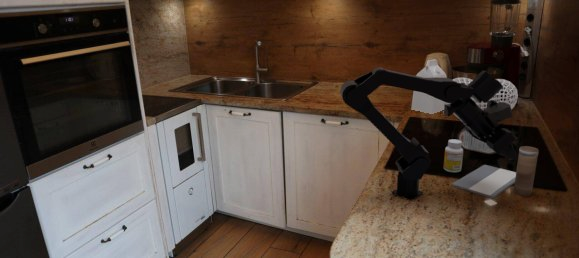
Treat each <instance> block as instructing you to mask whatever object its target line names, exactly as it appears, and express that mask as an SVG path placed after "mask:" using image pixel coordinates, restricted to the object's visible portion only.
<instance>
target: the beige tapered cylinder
mask: <svg viewBox="0 0 579 258" xmlns="http://www.w3.org/2000/svg"><path fill="white" fill-rule="evenodd" d="M538 156H539V149H538V148H536V147H533V146H528V145H525V146H524V145H522V146H520V147H519V150H518V158H517V164H516V165H517V166H516V169H515V170H516V171H515V172H516V177H515V183H514V184H513V193H515V194H517V195H519V196H525V197H526V196H531V195H532V194H533V193H532V192H533V187H534V180H535V175H536V169H537V163H538V162H537V161H538Z"/></svg>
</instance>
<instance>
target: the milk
mask: <svg viewBox="0 0 579 258" xmlns="http://www.w3.org/2000/svg"><path fill="white" fill-rule="evenodd" d="M438 64H439V63H438V59H429V60H427V61H426V65H425V66H424V68H422V69H421V70H420V71H419V72H417V74H416V75H415V76H419V77H423V78H434V77H438V78H448V76H447V73H446V72H445V71H444V70H443V69H442V68H441V67H440V65H438ZM411 101H412V102H411V108H410V111H411V110H415V111H420V112H424V113H429V114H434V113H437V112H440V111H442V110H444V105H445V102H444V101H442V100H439V99H437V98H434V97H432V96H430V95H428V94H425V93H422V92H417V91H413V92H412V100H411Z"/></svg>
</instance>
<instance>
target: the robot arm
mask: <svg viewBox="0 0 579 258" xmlns="http://www.w3.org/2000/svg"><path fill="white" fill-rule="evenodd" d="M496 79H497V78H494V77H493V76H492V75H491V74H489V73H488V72H487V71H486V70H481V72H479V74H477V76H476V77H475V78H474V79H472V80H473V81H472V82H470V84H468V85H466V84H465V83H457V81H456V82H455V81H453V79H451V78H448V77H447V78H438V77H434V78H423V77H419V76H416V75H413V74H409V73H403V72H399V71H395V70H389V69H385V68H383V67H375V68H373V69H372V70H371V71H369V72H368V73H365V74H363V75H361V76H358V77H357V78H355V79H354V80H347V81H345V82H344V83H342V85H341V87H340V90H339V94H340V97H341V98H342V100H343V102H344V103H345V104H346V105H347V106H348V107H350V108H351V109H353V110H354V111H356V112H357V113H359V114H361V115H362V116H364V118H366V119H367V120H368V121H369V122H370V124H372V125H373V127H375V128H376V129H377V130H378V131H379V132H380V133H381V134H382V135H383V137H385V138H386V140H388V141H389V142H390V143H391V144H392V145H393V146H394V147H395V148H396V149H397V151H398V152H399V154H400V155H401V156H400V157H399V158H398V159H397V160H396V161H395V165H396V168H397V169H398V173H397V178H396V179H397V181H396V189H394V190H392V191H391V194H393V195H394V196H395V195H396V196H398V197H400V198H403V199H406V200H409V201H414V199H416V198H418V197H420V196H422V195H423V194H424V191H422V190H419V189H420V180H422V178H423V176H424V174H425V172H426V171H427V170H429V168H430V166H431V158H430V156H429V155H430V152H429V151H428V150H427V149H426V148H425V147H424V145H421V143H420V142H419V140H417V139H416V138H415V136H414V137H412V139H409V138H407V137H405V135H403V134H402V133H401V131H399V129H398V128H396V127H395V125H393V123H392V122H391V121H390V120H388V118H387V117H385V115H384V114H383V113H382V112H381V111H380V110H379V109H378V108H377V107H376V106H375V105H374V103H373V102H372V101H371V99H370V98H369V97H368V96H369V95H371V94H372V93H373V92H374V91H376V90H377V89H378V88H379V87H381V86H383V85H385V86H389V87H395V88H399V89H403V90H404V89H405V90H408V91H413V92H414V91H417V92H422V93H425V94H428V95H430V96H432V97H434V98H437V99H439V100H442V101H444V102H446V103H450V104H447V105H446V104H445V105H444V111H443V114H444V115H446V116H447V117H451V116H452V115H454V114H453V113H455V114H456V116H457V117H456V116H455V117H456V118H457V119H459V120H460V122H461V123H462V125H464V128H463V129H465V131H466V132H467V133H468V134H470V135H471V136H473V137H474V138H476V139H478V140H480V141H482V142H484V143H487V146H488V147H489V148H490V149H491V150H493V151H494V152H495V153H494V154H497V155H501V156H503V157H506V158H509V159H511V160H514V161H515V160H518V157H519V155H517V153H516V150H515V148H514V145H513V143H514V142H515V141H516V140H517V135H516V134H514V133H513V131H511V130H509V129H508V128H500V129H496V128H498V127H499V126H500V125H501V124H500V122H503V121H505V120H507V119H511V118H513V117H514V112H513V108H512V109H511V107H510V105H509V104H507V103H506V102H500V101H499V102H498V101H496V100H495V101H494V100H490V99H491V98H492V97H493V98H494V96H495V97H496V94H497V93H499V91H500V90H501V89H503V86H502V84H501V82H499V81H498V80H496ZM470 97H471V98H472V97H473V98H474V99H473V100H474V101H473V100H472V99H471V98H470ZM475 100H476V103H477V102H478V103H481V102H482V103H483V102H484V103H487V108H485V109H484V111H483V108H482V109H481V108H480V107H481V106H480V105H479V104H478V105H477V104H476V103H475ZM489 100H490V101H489ZM497 102H498V103H497ZM493 132H494V133H493Z"/></svg>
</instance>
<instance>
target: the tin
mask: <svg viewBox="0 0 579 258" xmlns="http://www.w3.org/2000/svg"><path fill="white" fill-rule="evenodd" d="M493 133H494V132H493ZM457 140H460V141H462V145H461V148H462V149H463V150H467V151H470V152H471V151H472V152H476V153H481V154H486V155H493V154H496V153H495V152H494V151H493V150H491V149H490V148H489V147H488V146H487V143H484V142H482V141H480V140H478V139H476V138H474V137H473V136H471V135H470V134H468V133H467V132H466V131H465V129H464V128H462V130H460V131H459V133H458V134H457Z"/></svg>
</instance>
